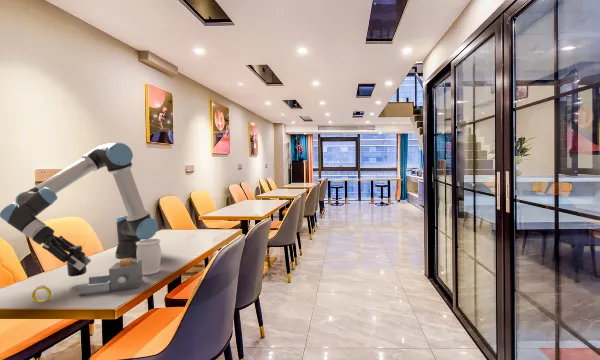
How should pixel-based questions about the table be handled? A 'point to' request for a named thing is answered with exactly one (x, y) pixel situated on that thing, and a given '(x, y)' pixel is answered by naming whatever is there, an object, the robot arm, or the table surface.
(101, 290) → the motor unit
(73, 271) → the supplement bottle
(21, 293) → the table surface
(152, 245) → the jar
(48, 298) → the watch
